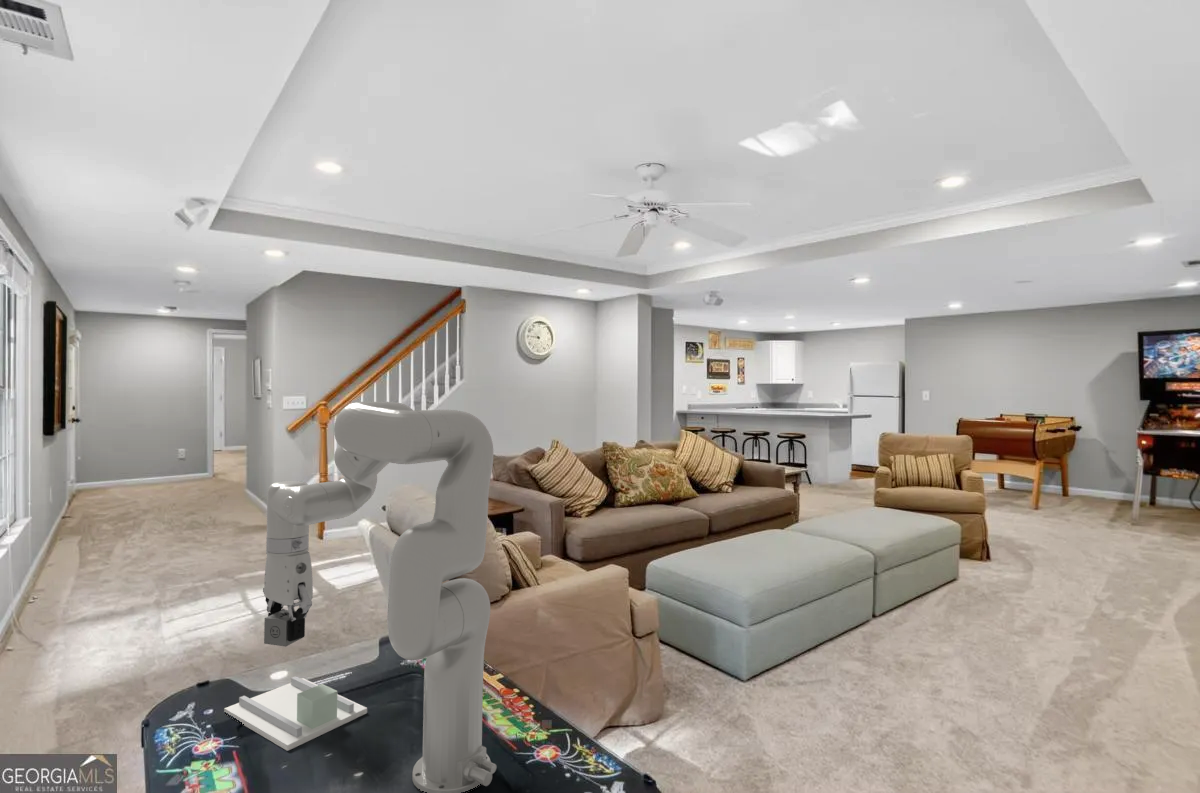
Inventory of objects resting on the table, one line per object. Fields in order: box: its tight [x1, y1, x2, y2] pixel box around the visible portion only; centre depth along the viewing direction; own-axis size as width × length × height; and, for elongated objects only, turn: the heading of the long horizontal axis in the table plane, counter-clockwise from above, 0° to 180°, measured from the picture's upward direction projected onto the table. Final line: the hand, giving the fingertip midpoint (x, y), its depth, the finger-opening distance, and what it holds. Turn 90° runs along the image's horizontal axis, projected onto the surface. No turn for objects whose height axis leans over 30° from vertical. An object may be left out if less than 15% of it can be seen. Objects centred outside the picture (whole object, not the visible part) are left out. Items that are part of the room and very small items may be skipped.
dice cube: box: [263, 609, 302, 648], centre depth 123 cm, size 5×5×5 cm
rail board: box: [223, 676, 368, 752], centre depth 121 cm, size 22×16×6 cm
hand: (286, 634), depth 123 cm, fingers closed on dice cube, 6 cm apart
